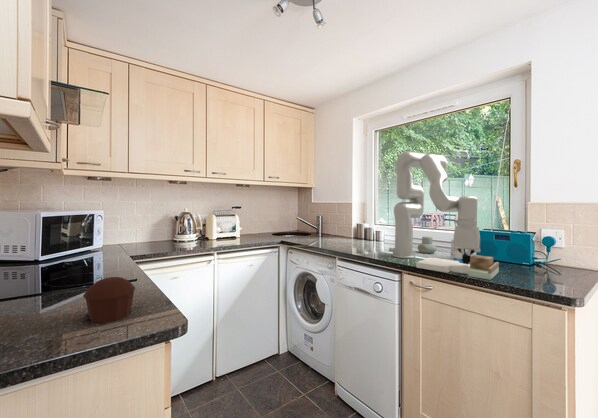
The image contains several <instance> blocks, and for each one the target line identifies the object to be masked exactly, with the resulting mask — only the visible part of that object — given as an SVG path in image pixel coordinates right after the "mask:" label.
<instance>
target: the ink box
mask: <svg viewBox="0 0 598 418" xmlns="http://www.w3.org/2000/svg"><path fill="white" fill-rule="evenodd" d="M453 239H454V238H453ZM453 239H451V240H450V260H453V261H459V263H463V261H462V254H461V253H460V252H459V251H458V250H455V249H453V247H454V246H453ZM465 251H466V254H467V252H468V249H465ZM474 253H475V252H474ZM474 253H473V254H471V256H474V255H475V254H474ZM469 264H470V262H469Z"/></svg>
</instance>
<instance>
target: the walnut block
mask: <svg viewBox="0 0 598 418" xmlns="http://www.w3.org/2000/svg"><path fill="white" fill-rule="evenodd" d="M493 264H494V257H493V256H489V255H488V256H487V255H478V254H474V256H471V257H470V268H473V269H479V270H486V271H488V268H489V267H491V266H492V265H493Z"/></svg>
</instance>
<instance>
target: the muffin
mask: <svg viewBox="0 0 598 418" xmlns="http://www.w3.org/2000/svg"><path fill="white" fill-rule="evenodd" d="M135 290H136V287H135V286H134V285H133V283H132V282H130V280H128V279H126V278H124V277H121V276H120V277H119V276H108V277H106V278H102V279H99V280H98V281H96V282H94V283H93V284H92V285H90V286H89V287H88V289H86V291H85V292H84V294H83V295H82V296H83V298H84V299H85V302H86V307H87V310H88V317H89V320H90V321H91V322H92V323H95V324H96V323H97V324H98V323H99V324H104V323H106V324H107V323H110V322H116V321H118V320H121V319H123V318H127V317H128V316H129V314H130V313H131V312H132V311H131V310H132V305H133V299H134V293H135Z"/></svg>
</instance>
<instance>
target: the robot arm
mask: <svg viewBox="0 0 598 418" xmlns="http://www.w3.org/2000/svg"><path fill="white" fill-rule="evenodd" d="M447 165H448V161H447V158H446V157H445V156H444V155H442V154H436V153H428V152H427V153H426V152H419V151H413V150H412V151H411V150H410V151H404V152H402V153H400V154H399V155H398V157H397V159H396V162H395V169H396V197H397V198H399V199H400V200H408V201H400V202H397V203H396V204H395V205H394V206H393V215H394V222H395V223H394V225H395V226H394V230H395V231H394V247H389V248H388V252H392V254H391V256H392V257H395V258H397V259H398V258H399V259H414V258H416V255H415V254H413V238H414V236H413V235H414V227H413V222H412V219H418V218H420V217H422V215H423V213H424V209H425V208H424V207H425V206H424V205H425V203H424V202H425V198H424V197H425V191H424V188H423V187H422V185H420V184H418V183H414V181H413V178H414V177H413V172H412V169H410V168H419V169H422V171H423V172H424V175H425V177H426V178H427V180H428V182H429V184H430V185H429V191H428V192H429V197H430V199H431V202H432V204H433V205H434V207H435V208H436V209H437V210H438V211H439V212H441V213H442V212H443V213H457V220H454V224H456V225H455V227H454V233H453V246H454V247H453V249H455V250H458V251H459V252H460V253H461V254H462V261H463V264H469V262H470V257H471V254H473V253H481V235H480V234H481V233H480V228H479V226H478V198H477V197H476V196H471V195H468V196H458V195H457V196H456V195H455V196H454V195H453V196H452V195H447V194H446V192H445V191H444V189H443V186H442V184H443V183H445V182H446V181H447V180H448V175H447V172H446V171H445V169H446V168H447ZM465 249H468V252H467V254H466V251H465Z"/></svg>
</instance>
